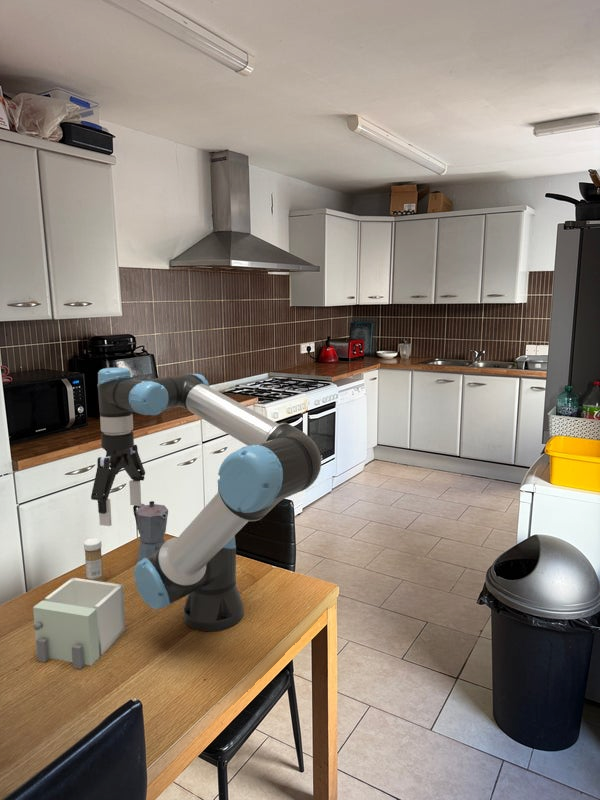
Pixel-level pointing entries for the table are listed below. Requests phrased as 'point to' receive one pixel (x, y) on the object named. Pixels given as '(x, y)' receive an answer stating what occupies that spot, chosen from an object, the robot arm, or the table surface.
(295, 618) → the table surface
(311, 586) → the table surface
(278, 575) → the table surface
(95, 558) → the sprinkles bottle
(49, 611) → the door
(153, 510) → the moka pot
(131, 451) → the robot arm
